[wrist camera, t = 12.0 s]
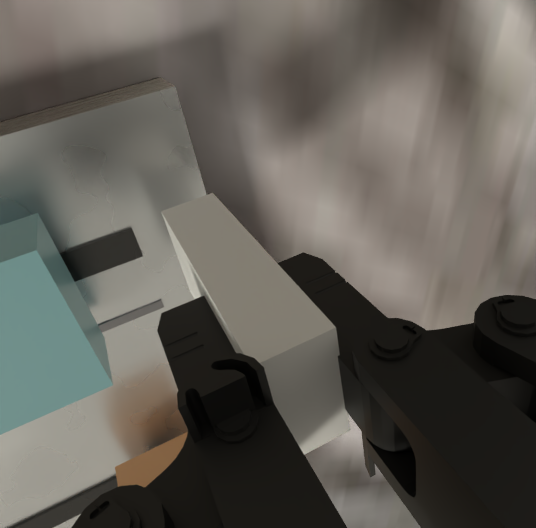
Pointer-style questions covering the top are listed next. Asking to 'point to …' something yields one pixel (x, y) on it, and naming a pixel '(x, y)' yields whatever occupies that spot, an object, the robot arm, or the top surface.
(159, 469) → the fader
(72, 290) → the fader
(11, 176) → the console
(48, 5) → the top surface
